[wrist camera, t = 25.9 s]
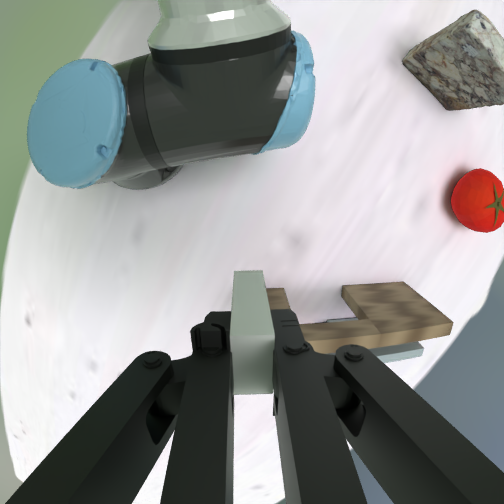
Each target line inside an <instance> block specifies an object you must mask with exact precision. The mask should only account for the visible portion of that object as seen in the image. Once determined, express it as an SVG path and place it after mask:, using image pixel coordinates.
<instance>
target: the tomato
mask: <svg viewBox="0 0 504 504" xmlns="http://www.w3.org/2000/svg"><path fill="white" fill-rule="evenodd" d="M451 206H452V209H453V212H454V213H455V215H456V217H457V218H458V220H459V221H460V222H461V223H462V224H463V225H464V226H465V227H467V228H469V229H471V230H474V231H478V232H485V233H487V232H491V231H495V230H496V229H498V228H499V227H501V225H502V224H503V222H504V189H503V185H502V182H501V181H500V180H499V179H498V178H497V177H496V176H495V175H494V174H493V173H491V172H490V171H487V170H484V169H481V168H480V169H474V170H472V171H470V172H468V173H466V174H465V175H464V176H463V177H462V178H461V179H460V180H459V181H458V183H457V184H456V186H455V188H454V190H453V193H452V196H451Z"/></svg>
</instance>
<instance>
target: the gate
mask: <svg viewBox="0 0 504 504" xmlns="http://www.w3.org/2000/svg"><path fill="white" fill-rule="evenodd" d="M353 320H358V318H349V319H337V320H327V323H328V322H341V321H353ZM368 350H370V351H371V352H372V353H373V354H374V355H375V356H376V357H378V358H379V359H380V360H381V361H382V362H383V363H388V362H394V361H399V360H404V359H410V358H415V357H420V356H422V353H423V350H424V348H423V346H422V345H421V344H420V343H419V342H418V341H416V342H410V343H404V344H398V345H392V346H385V347H378V348H371V349H368ZM327 354H330V355H335V353H327Z"/></svg>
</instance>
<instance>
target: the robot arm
mask: <svg viewBox="0 0 504 504" xmlns="http://www.w3.org/2000/svg"><path fill="white" fill-rule="evenodd" d="M158 4H159V8H160V13H161V18H160V21H159V23H158V24H157V26H156V27H155V29H154V30H153V32H152V33H151V35H150V36H149V38H148V44H149V48H150V51H151V53H150V54H147V55H144V56H140V57H137V58H133V59H130V60H127V61H124V62H121V63H117V64H114V65H110V64H109V63H107V62H105V61H101V60H98V59H79V60H75V61H72V62H70V63H68V64H66V65H64V66H63V67H61V68H60V69H58V70H57V71H56V72H55V73H54V74H53V75H52V76H50V77H49V79H48V80H47V81H46V82H45V83H44V85H43V86H42V88H41V90H40V91H39V93H38V96H37V100H36V102H35V103H34V105H33V106H32V108H31V112H30V115H29V120H28V127H27V142H28V149H29V153H30V157H31V160H32V162H33V164H34V166H35V168H36V169H37V171H38V172H39V173H40V174H41V175H42V176H44V177H45V179H46V180H47V181H48V182H50V183H52V184H54V185H56V186H60V187H71V188H77V189H80V188H85V187H88V186H90V185H93V184H97V183H104V182H114V183H115V184H117V185H119V186H121V187H124V188H128V189H134V190H143V189H149V188H153V187H156V186H159V185H161V184H163V183H165V182H167V181H169V180H170V179H171V178H172V177H174V176H175V175H176V174H177V173H178V172H179V171H180V169H181V168H182V167H183V165H184V164H189V163H194V162H200V161H205V160H211V159H218V158H224V157H230V156H237V155H244V154H253V155H257V154H259V153H263V152H265V151H268V150H274V149H280V148H286V147H289V146H291V145H293V144H295V143H296V142H298V141H299V140H300V139H301V137H302V136H303V135H304V133H305V131H306V129H307V127H308V124H309V122H310V118H311V115H312V110H313V104H314V96H315V76H314V75H313V73H312V71H313V66H314V60H313V54H312V50H311V47H310V45H309V42H308V41H307V39H306V38H305V37H304V36H303V35H302V34H300V33H297V32H295V31H291V20H290V17H289V16H288V15H287V14H285V13H284V12H283V11H282V10H280V9H279V8H278V7H277V6H275V5H274V4H273V3H272V1H271V0H158ZM190 333H191V341H192V348H193V352H192V355H191V356H189V357H186V358H183V359H178V360H172V361H171V358H170V356H169V355H168V354H167V353H164V352H161V351H149V352H145V353H143V354H141V355H139V356H138V357H137V358H135V360H134V361H133V362H132V363H131V364H130V365H129V366H128V367H127V368H126V369H125V370H124V372H123V373H122V374H121V375H120V376H119V377H118V378H117V379H116V380H115V381H114V382H113V383H112V385H111V386H110V387H109V388H108V389H107V390H106V391H105V392H104V393H103V394H102V395H101V397H100V398H99V399H98V400H97V401H96V402H95V403H94V404H93V405H92V406H91V408H90V409H89V410H88V411H87V412H86V413H85V414H84V415H83V416H82V417H81V419H80V420H79V421H78V422H77V423H76V424H75V425H74V426H73V427H72V429H71V430H70V431H69V432H68V433H67V434H66V435H65V436H64V437H63V439H62V440H61V441H60V442H59V443H58V444H57V445H56V446H55V448H54V449H53V450H52V451H51V452H50V453H49V454H48V455H47V456H46V458H45V459H44V460H43V461H42V462H41V463H40V464H39V466H38V467H37V468H36V469H35V470H34V471H33V472H32V473H31V475H30V476H29V477H28V478H27V479H26V480H25V481H24V483H23V484H22V485H21V486H20V487H19V488H18V489H17V491H16V492H15V493H14V494H13V495H12V496H11V498H10V499H9V500H8V501H7V502H6V503H5V504H132V502H133V501H134V499H135V497H136V496H137V494H138V492H139V490H140V489H141V487H142V485H143V484H144V482H145V480H146V479H147V477H148V475H149V473H150V472H151V470H152V468H153V467H154V465H155V463H156V461H157V460H158V458H159V456H160V454H161V453H162V451H163V449H164V448H165V446H166V444H167V442H168V441H169V439H170V437H171V435H172V434H173V432H174V430H175V432H174V436H173V441H172V446H171V451H170V455H169V460H168V465H167V470H166V475H165V481H164V486H163V491H162V496H161V502H160V504H233V458H234V395H244V394H272V393H273V390H274V402H273V416H275V419H276V426H277V434H278V442H279V450H280V458H281V466H282V474H283V482H284V490H285V498H286V504H367V501H366V498H365V495H364V492H363V489H362V486H361V483H360V480H359V477H358V474H357V471H356V468H355V465H354V462H353V459H352V456H351V453H350V450H349V447H348V444H347V441H348V442H349V443H350V445H351V446H352V448H353V449H354V450H355V452H356V453H357V455H358V456H359V457H360V459H361V460H362V461H363V463H364V464H365V465H366V467H367V468H368V470H369V471H370V472H371V474H372V475H373V476H374V478H375V479H376V480H377V481H378V483H379V484H380V486H381V487H382V488H383V490H384V491H385V492H386V493H387V495H388V496H389V498H390V499H391V500H392V502H393V503H394V504H504V473H503V472H502V471H501V470H500V469H499V468H498V467H497V466H496V465H495V464H494V463H493V462H492V461H490V460H489V459H488V458H487V457H486V456H485V455H484V454H483V453H482V452H481V451H479V450H478V449H477V448H476V447H475V446H474V445H473V444H472V443H471V442H470V441H469V440H468V439H466V438H465V437H464V436H463V435H462V434H461V433H460V432H459V431H458V430H457V429H455V427H453V426H452V425H451V424H450V423H449V422H448V421H447V420H446V419H445V418H443V416H441V415H440V414H439V413H438V412H437V411H436V410H435V409H434V408H433V407H431V406H430V405H429V404H428V403H427V402H426V401H425V400H424V399H423V398H422V397H420V396H419V395H418V394H417V393H416V392H415V391H414V390H413V389H412V388H411V387H410V386H408V385H407V384H406V383H405V382H404V381H403V380H402V379H401V378H400V377H399V376H397V375H396V374H395V373H394V372H393V371H392V370H391V369H390V368H389V367H387V366H386V365H385V364H384V363H383V362H382V361H381V360H380V359H379V358H378V357H376V356H375V355H374V354H373V353H372V352H371V351H370V350H368V349H367V348H365V347H363V346H360V345H354V344H349V345H344V346H341V347H339V348H338V349H337V350H336V353H335V355H330V354H322V353H318V352H315V351H314V349H313V347H312V345H311V344H310V343H308V342H307V341H305V339H304V336H303V333H302V330H301V328H300V326H299V322H298V319H297V316H296V314H295V313H294V312H293V311H291V310H290V309H272V310H270V307H269V302H268V297H267V292H266V286H265V281H264V276H263V271H262V270H257V271H234V282H233V296H232V310H231V311H222V312H210V313H209V314H208V315H207V316H206V317H205V320H204V322H203V323H200V324H197V325H196V326H194V327H193V328H192V329H191V331H190ZM346 439H347V441H346Z"/></svg>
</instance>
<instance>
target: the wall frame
mask: <svg viewBox="0 0 504 504" xmlns="http://www.w3.org/2000/svg"><path fill="white" fill-rule="evenodd" d="M266 292H267V297H268V302H269V307H270V310H272V309H290V306H289V303H288V300H287V297H286V294H285V291H284V288H267V289H266ZM342 298H343V299H344V300H345V302H346V303H347V305H348V306H349V307H350V309H351V310H352V311H353V313H354V314H355V316H356V317H357V318H358V320H353V321H341V322H328V323H313V324H299V326H300V328H301V330H302V333H303V336H304V339H305V341H307V342H308V343H310V344H311V345H312V347H313V349H314V351H315V352H318V353H322V354H327V353H336V350H337V349H338V348H339V347H341V346H344V345H349V344H354V345H360V346H363V347H365V348H367V349H371V348H378V347H385V346H392V345H398V344H404V343H410V342H416V341H421V340H427V339H432V338H437V337H442V336H447V335H450V333H451V329H452V326H453V322H452V321H451V320H450V319H449V318H448V317H446V316H445V315H444V314H443V313H442V312H440V311H439V310H438V309H437V308H436V307H434V306H433V305H432V304H431V303H430V302H428V301H427V300H426V299H425V298H423V297H422V296H421V295H420V294H418V293H417V292H416V291H415V290H413V289H412V288H411V287H410V286H408V285H407V284H406V283H404V282H391V283H376V284H360V285H343V287H342ZM290 310H291V309H290Z"/></svg>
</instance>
